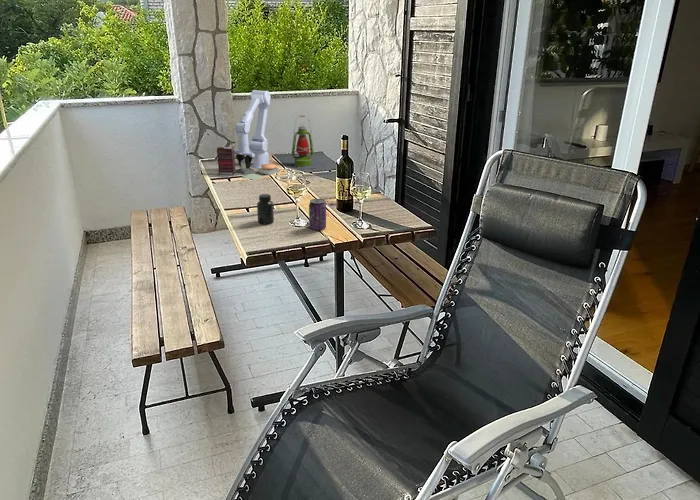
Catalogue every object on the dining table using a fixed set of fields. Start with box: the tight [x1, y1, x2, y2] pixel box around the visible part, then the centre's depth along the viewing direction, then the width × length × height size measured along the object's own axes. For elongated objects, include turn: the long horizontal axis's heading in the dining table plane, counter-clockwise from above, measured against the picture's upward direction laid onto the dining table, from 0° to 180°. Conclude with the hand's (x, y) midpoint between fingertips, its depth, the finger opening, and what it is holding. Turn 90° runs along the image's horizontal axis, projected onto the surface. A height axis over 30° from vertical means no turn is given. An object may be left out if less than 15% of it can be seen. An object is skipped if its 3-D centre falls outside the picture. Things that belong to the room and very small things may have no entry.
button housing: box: [258, 167, 280, 176], centre depth 304 cm, size 8×8×3 cm
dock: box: [236, 167, 259, 176], centre depth 305 cm, size 10×10×2 cm
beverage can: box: [308, 198, 327, 231], centre depth 221 cm, size 7×7×12 cm
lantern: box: [291, 115, 315, 167], centre depth 316 cm, size 14×11×30 cm
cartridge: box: [240, 160, 249, 171], centre depth 304 cm, size 4×4×6 cm
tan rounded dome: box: [261, 163, 277, 169], centre depth 303 cm, size 8×8×4 cm
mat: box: [241, 173, 265, 181], centre depth 296 cm, size 9×9×1 cm
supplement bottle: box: [256, 193, 275, 226], centre depth 226 cm, size 7×7×12 cm
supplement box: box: [216, 146, 237, 177], centre depth 295 cm, size 9×5×16 cm, turn 84°
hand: (244, 167), depth 304 cm, fingers closed on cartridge, 4 cm apart
